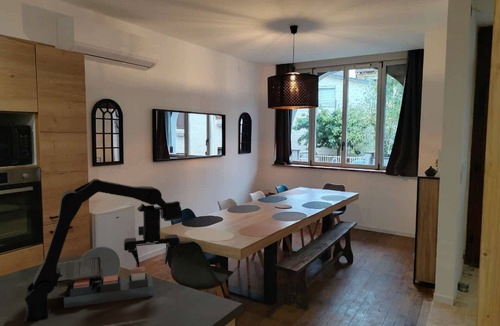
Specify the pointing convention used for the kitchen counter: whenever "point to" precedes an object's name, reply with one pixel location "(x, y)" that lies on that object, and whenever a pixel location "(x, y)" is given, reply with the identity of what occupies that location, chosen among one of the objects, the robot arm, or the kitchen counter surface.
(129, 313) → the kitchen counter surface
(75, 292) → the gray slotted rack
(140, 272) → the button
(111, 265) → the chinaware
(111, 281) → the button
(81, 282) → the button
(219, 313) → the kitchen counter surface
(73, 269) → the coffee box
